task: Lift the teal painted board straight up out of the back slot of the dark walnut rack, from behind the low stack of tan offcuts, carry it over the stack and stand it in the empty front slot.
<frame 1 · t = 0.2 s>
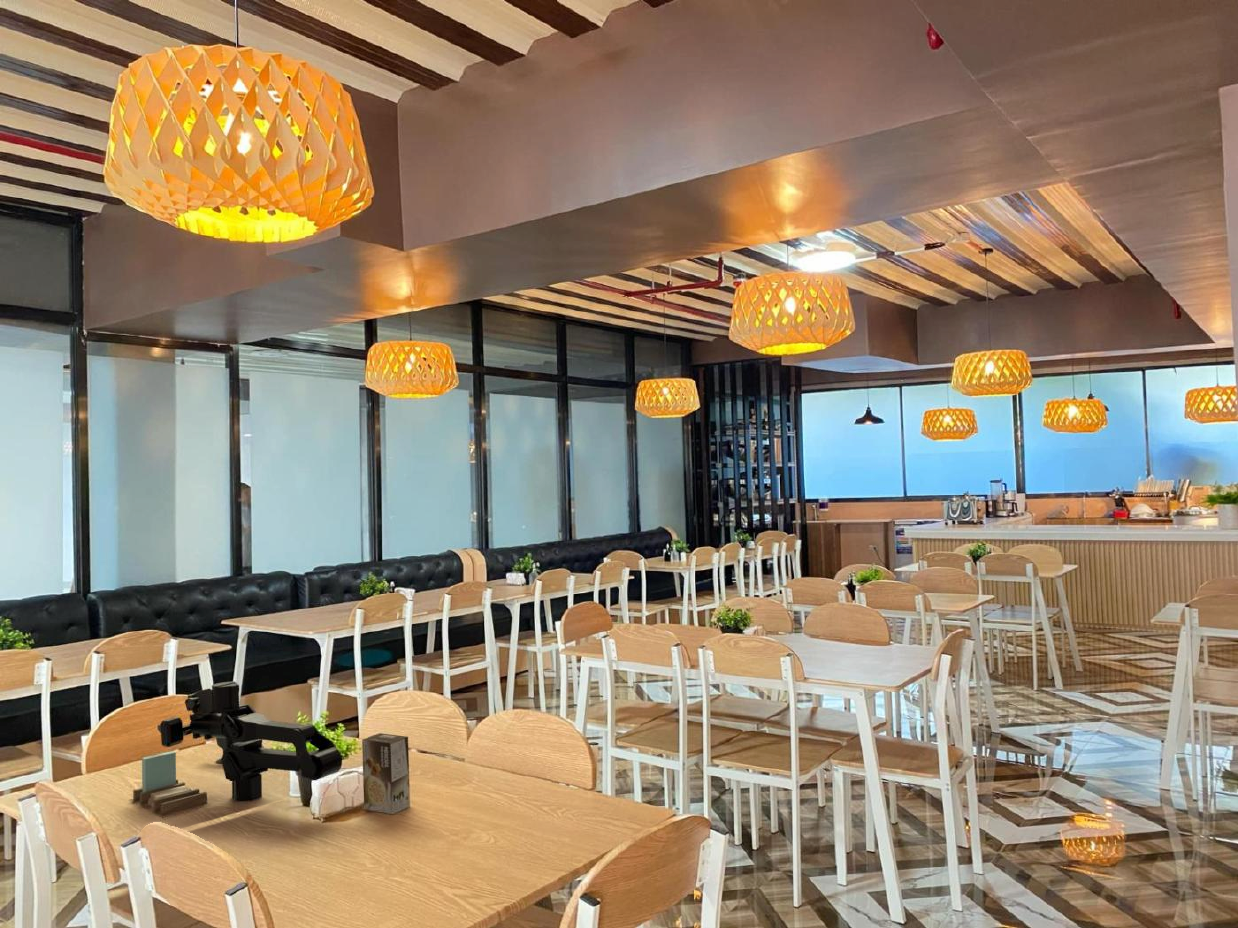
hand: (174, 722, 225), 17 cm above the table, tool horizontal, fingers open, 9 cm apart
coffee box: (387, 808, 206), on the table
teal sheet: (159, 796, 215), point 1 cm above the table, touching walnut rack
offcut stack: (169, 801, 211), point 1 cm above the table, touching walnut rack
sundae: (225, 761, 248), on the table
walnut rack: (169, 806, 211), on the table
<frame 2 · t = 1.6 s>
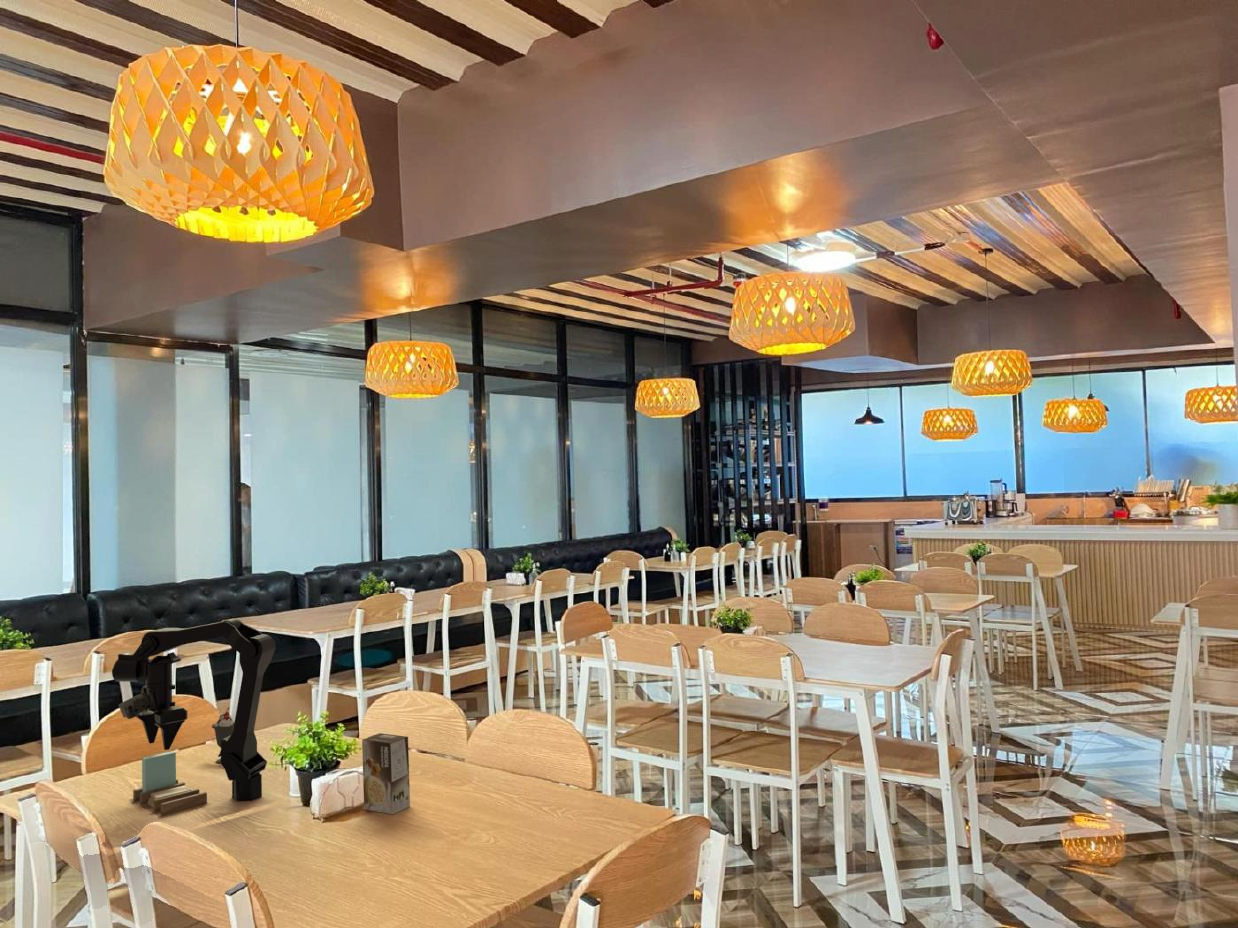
hand: (159, 746, 216), 13 cm above the table, tool pointing down, fingers open, 9 cm apart
nothing on the table moved.
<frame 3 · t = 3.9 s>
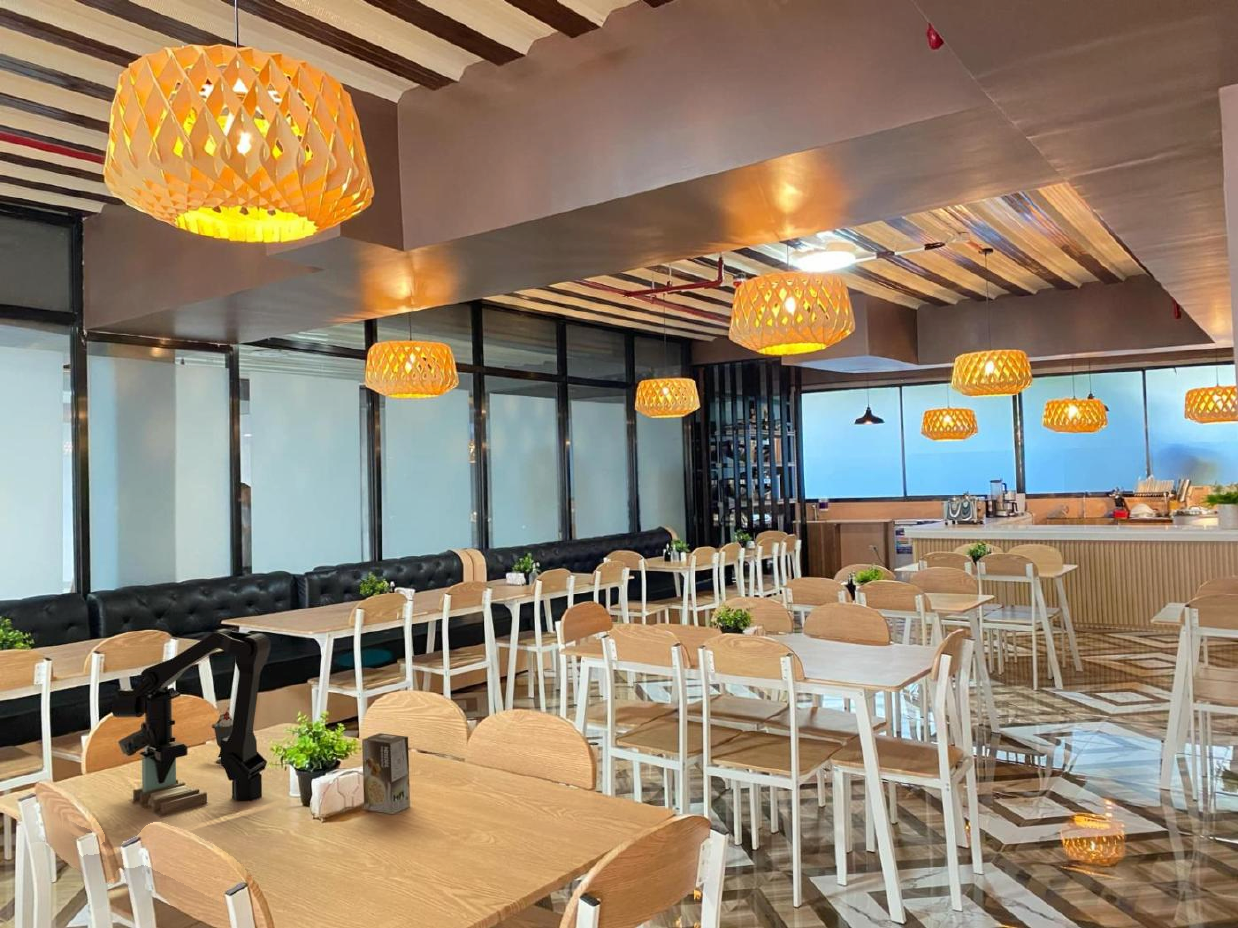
hand: (159, 782, 216), 5 cm above the table, tool pointing down, fingers closed on teal sheet, 2 cm apart
teal sheet: (159, 796, 215), point 1 cm above the table, touching gripper, walnut rack
everything else where it was.
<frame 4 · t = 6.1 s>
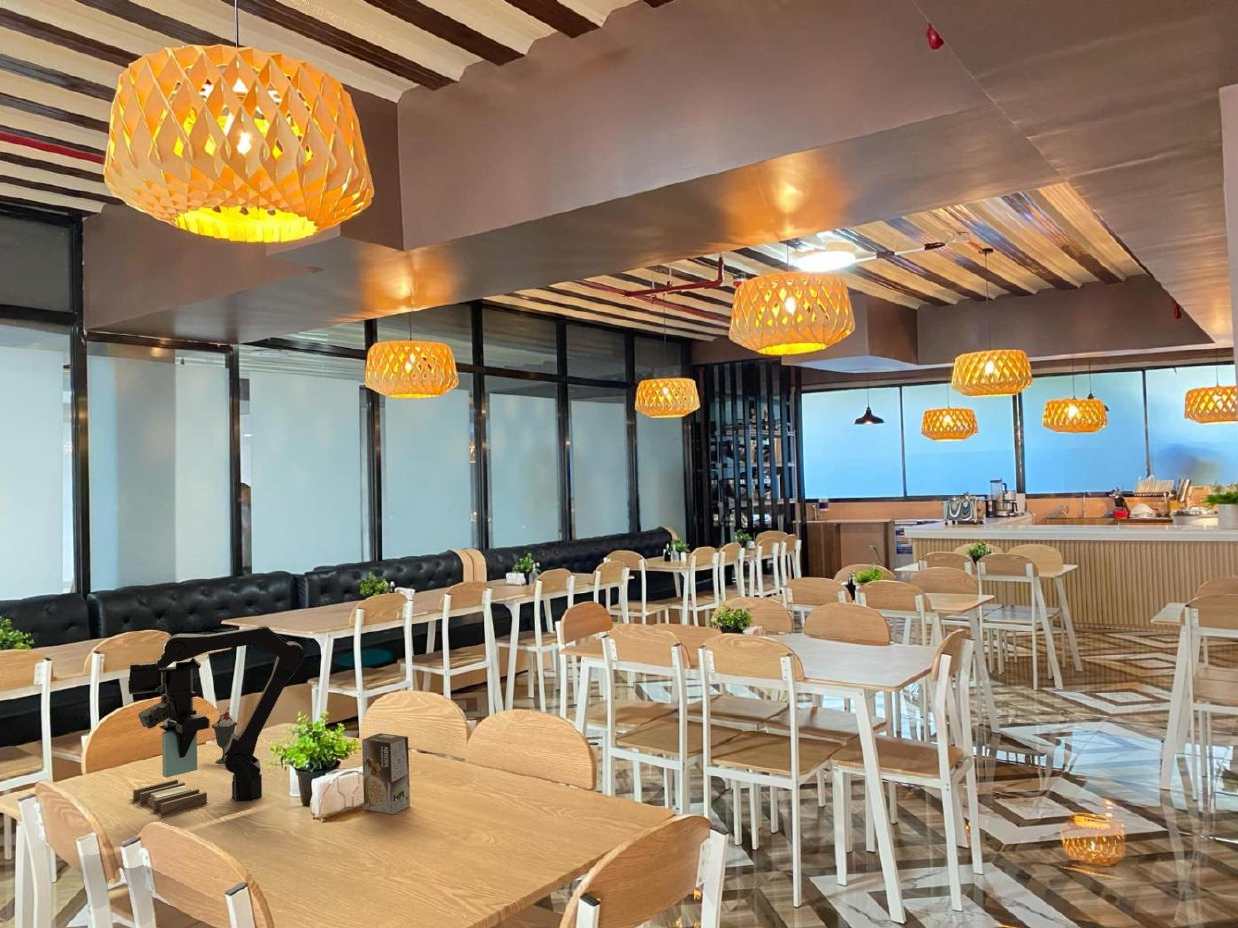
hand: (180, 756, 208), 13 cm above the table, tool pointing down, fingers closed on teal sheet
teal sheet: (180, 772, 208), point 9 cm above the table, touching gripper
everything else where it was.
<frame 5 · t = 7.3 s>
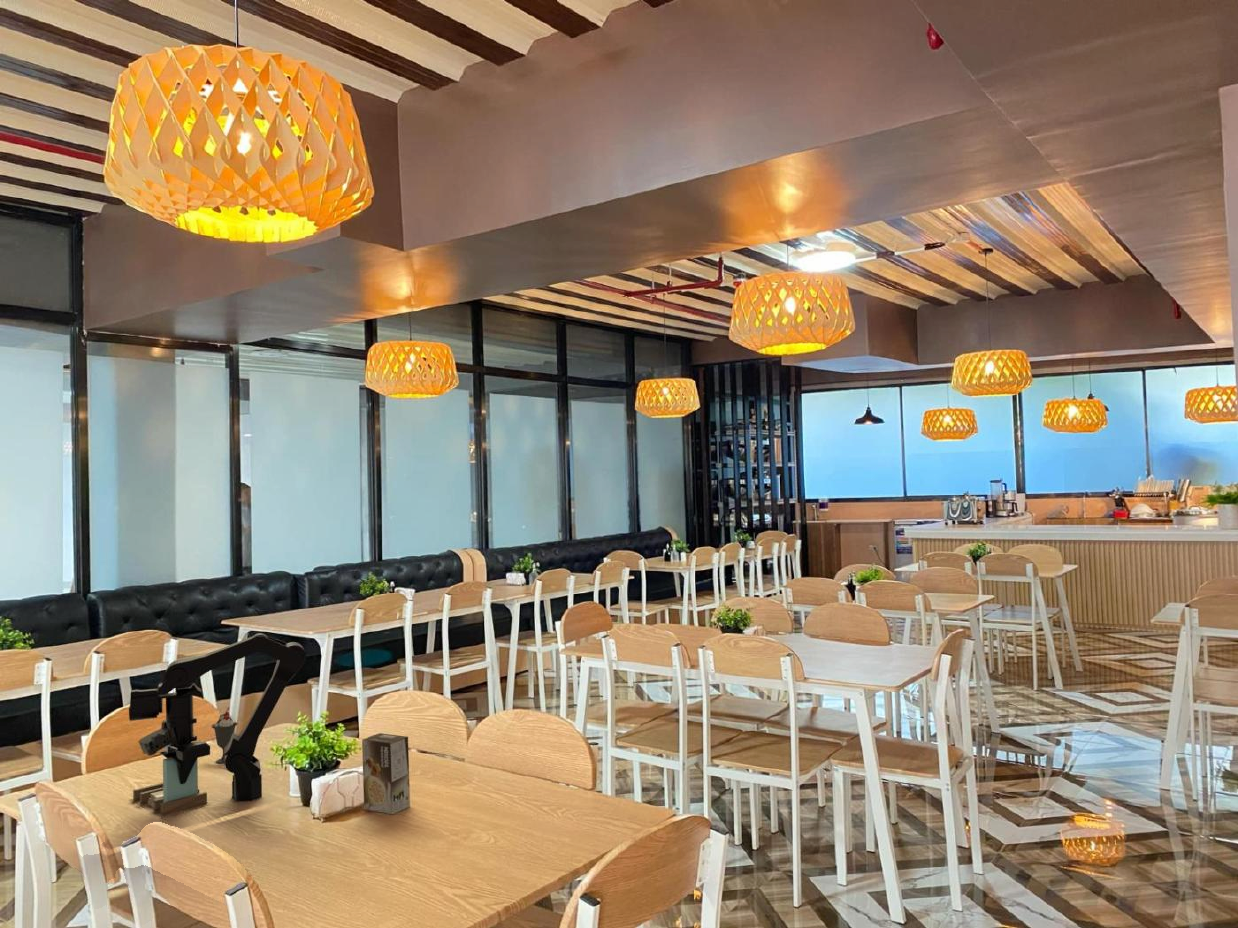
hand: (180, 782, 208), 7 cm above the table, tool pointing down, fingers closed on teal sheet, 2 cm apart
teal sheet: (180, 799, 208), point 3 cm above the table, touching gripper
everything else where it was.
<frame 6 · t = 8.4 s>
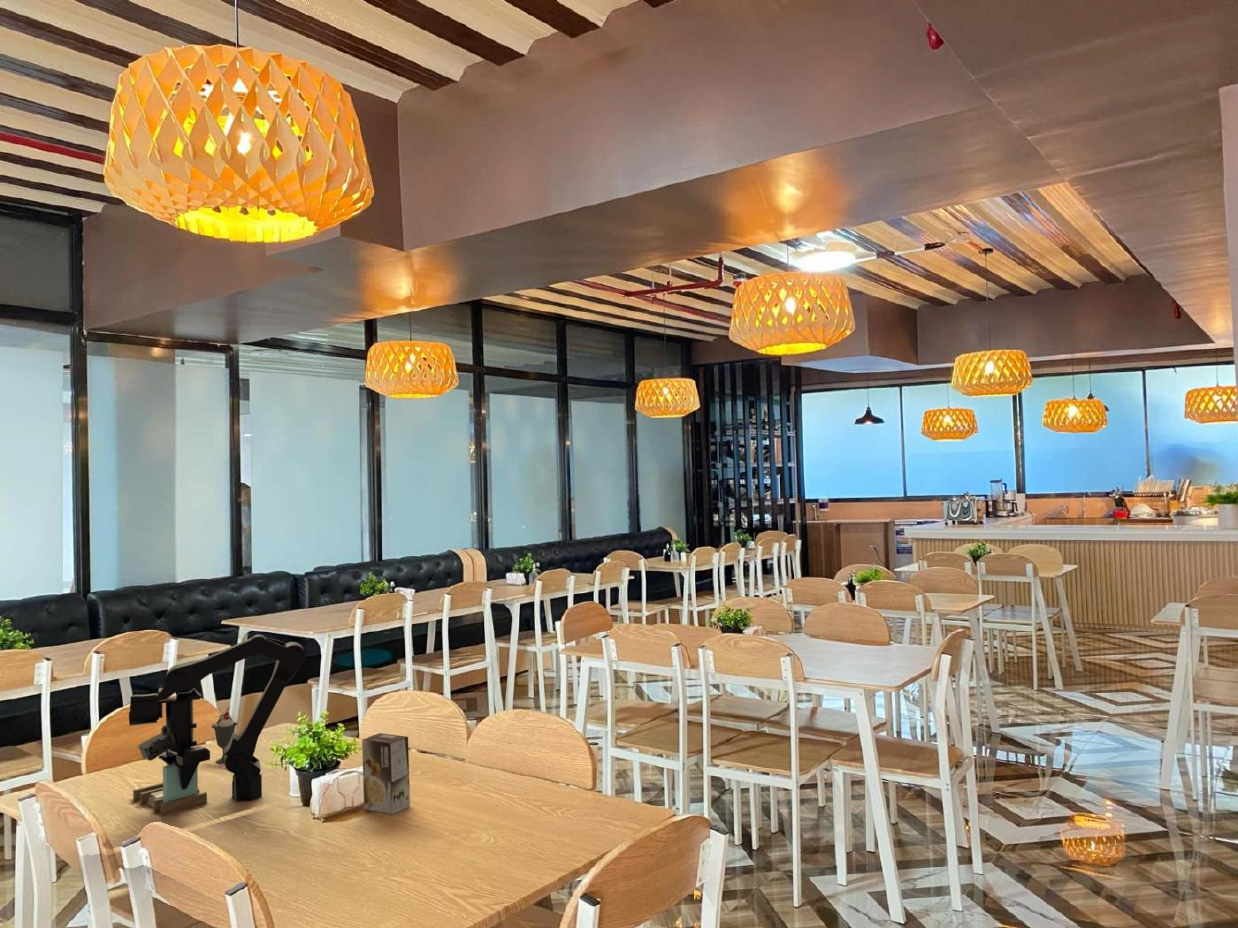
hand: (180, 787, 208), 5 cm above the table, tool pointing down, fingers open, 4 cm apart
teal sheet: (180, 807, 207), point 1 cm above the table, touching walnut rack
everything else where it was.
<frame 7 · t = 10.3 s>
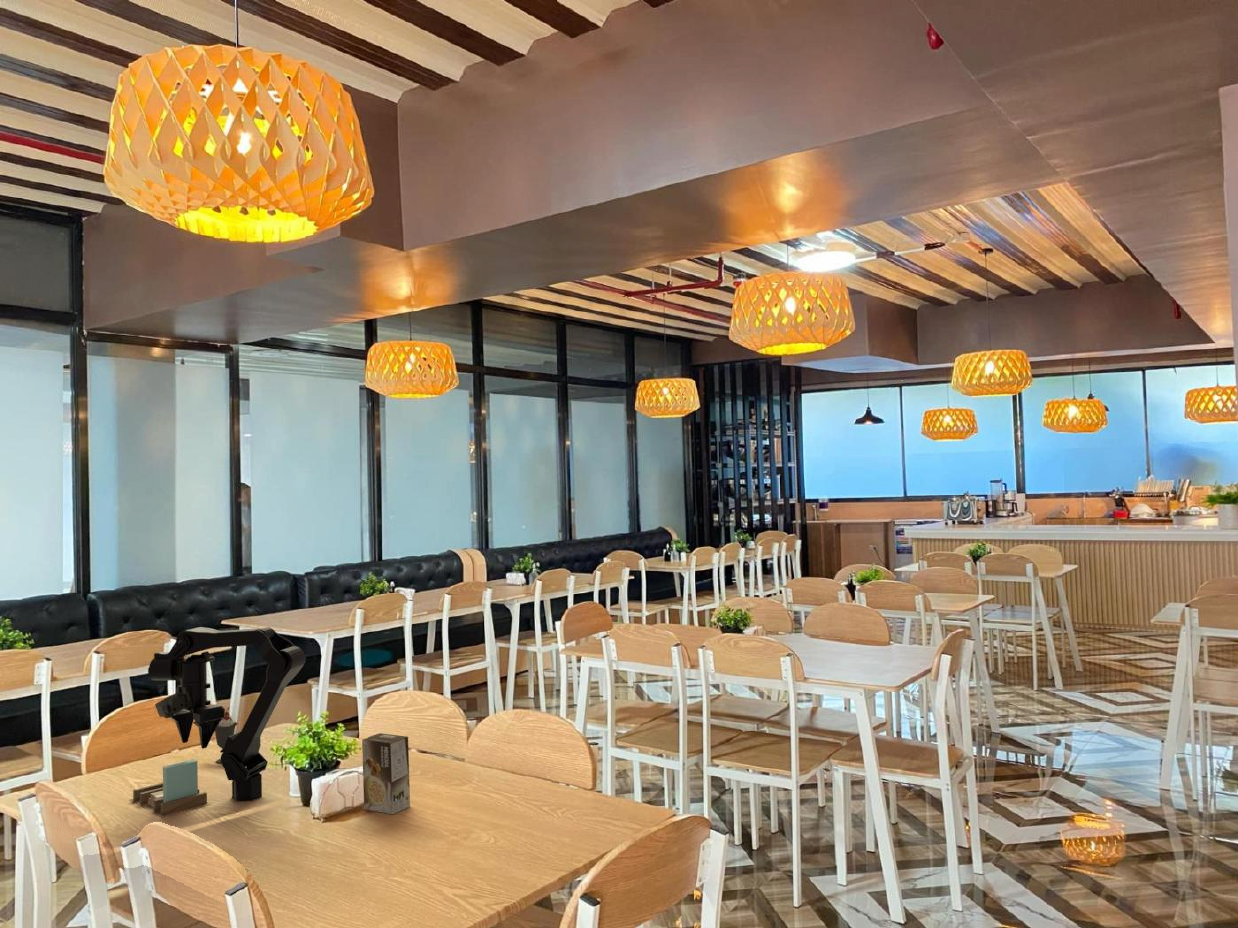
hand: (194, 745, 216), 13 cm above the table, tool pointing down, fingers open, 9 cm apart
nothing on the table moved.
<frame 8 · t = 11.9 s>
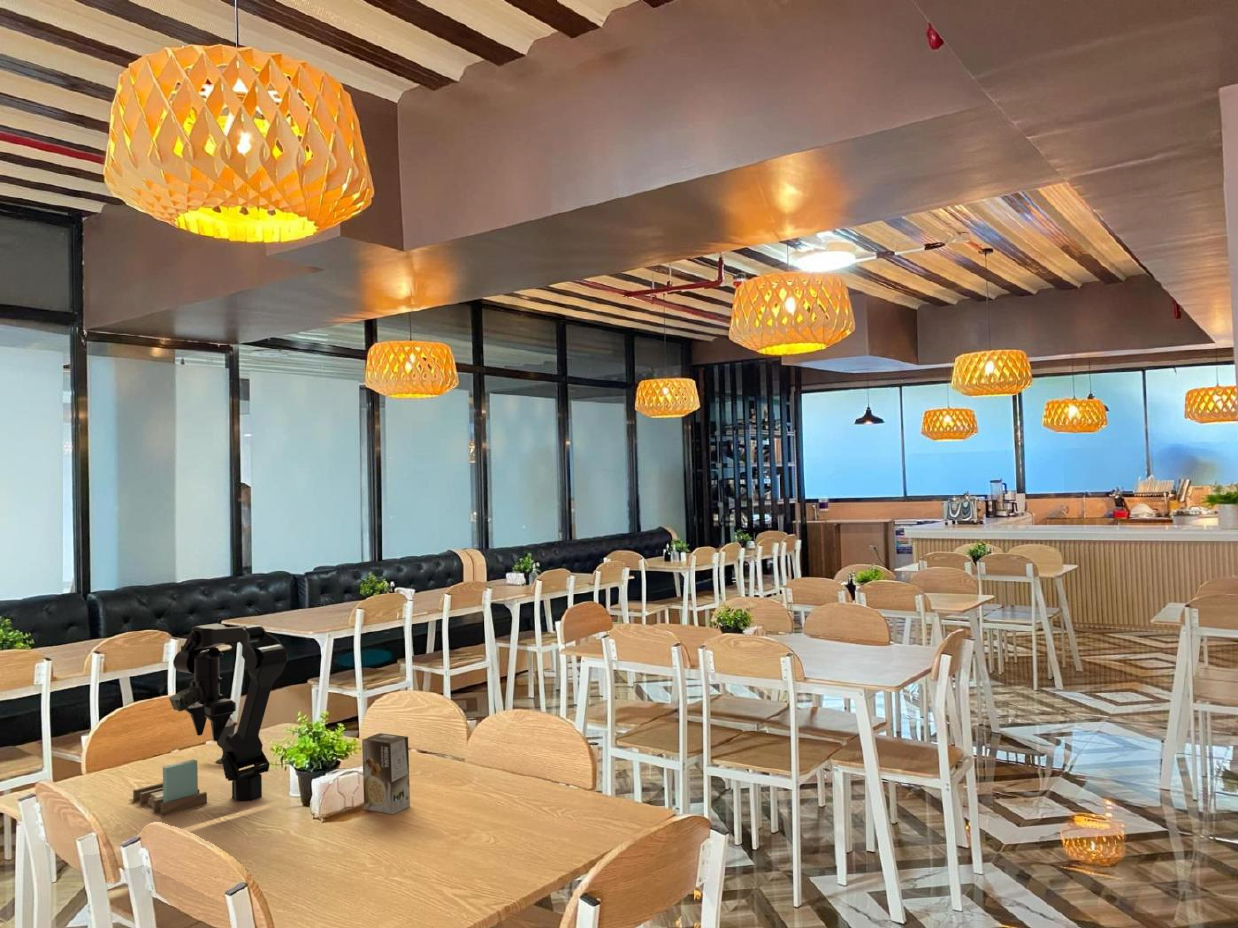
hand: (207, 737, 223), 13 cm above the table, tool pointing down, fingers open, 9 cm apart
nothing on the table moved.
at the end: teal sheet 0.0 cm from the target spot on the walnut rack, point 1.0 cm above the walnut rack's base; teal sheet tilted 0°; offcut stack moved 0.0 cm from its start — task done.
